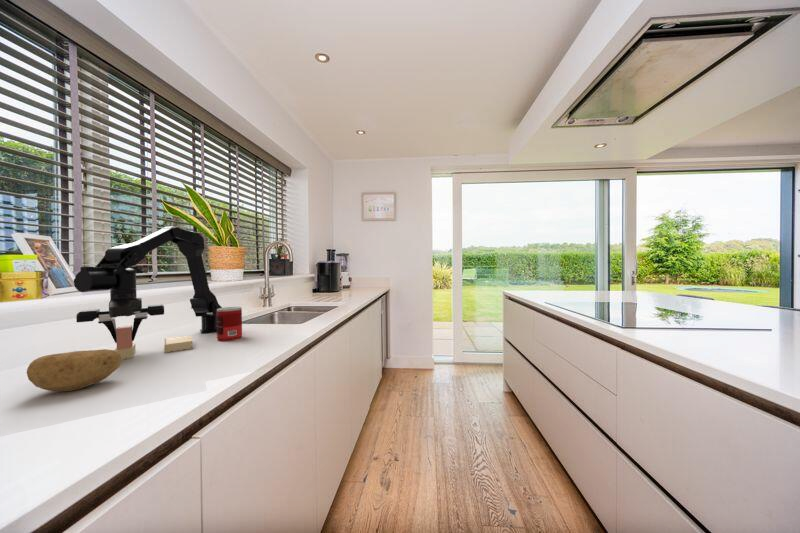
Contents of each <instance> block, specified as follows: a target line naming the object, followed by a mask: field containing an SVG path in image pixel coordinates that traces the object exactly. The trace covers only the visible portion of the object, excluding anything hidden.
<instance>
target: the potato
mask: <svg viewBox="0 0 800 533" xmlns="http://www.w3.org/2000/svg"><path fill="white" fill-rule="evenodd" d="M122 360H123V359H122V357H121V355H120V353H119V352H117V351H115V349H103V348H102V349H95V350H94V349H93V350H92V349H91V350H75V351H70V352H69V351H68V352H62V353H51V354H46V355H43V356H40V357H37V358H35V359H33V361H31V362H30V363H29V365H28V366H27V369H26V375H27V378H28V381H30V382H31V384H33V385H34V387H36V388H39V389H41V390H45V391H50V392H73V391H78V390H80V389H84V388H86V387H89V386H91V385H94V384H97V383H100V382H102V381H103V380H106V379H107V378H108V377H109V376H110V375H112V374H113V373H114V372H115V371H116V370H118V368H119V367H120V365H121V364H122Z"/></svg>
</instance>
